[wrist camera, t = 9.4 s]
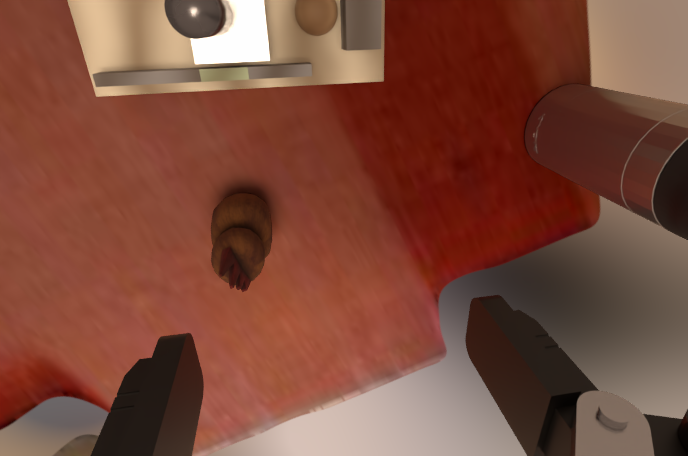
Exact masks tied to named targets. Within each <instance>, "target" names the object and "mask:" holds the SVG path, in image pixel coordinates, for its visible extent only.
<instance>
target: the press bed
mask: <svg viewBox="0 0 688 456" xmlns="http://www.w3.org/2000/svg"><path fill="white" fill-rule="evenodd" d="M296 1H297V0H264V3H265V12H266V22H267V31H268V41H269V50H270V61H255V62H233V63H211V64H195V60H194V54H193V49H192V43H191V38H187V37H185V36H183V35H181V34H180V33H178V32H177V31H176V30H175V29H174V28H173V27H172V26H171V24H170V23H169V21H168V19H167V16H166V13H165V7H164V3H165V0H68V4H69V7H70V10H71V14H72V17H73V20H74V24H75V27H76V30H77V34H78V37H79V40H80V44H81V47H82V50H83V54H84V57H85V60H86V64H87V67H88V70H89V74H90V77H91V80H92V84H93V87H94V90H95V94H96V97H98V96H117V95H135V94H154V93H173V92H192V91H210V90H229V89H248V88H267V87H285V86H304V85H323V84H342V83H360V82H379V81H384V13H385V0H335V1H336V4H337V8H338V16H337V21H336V23H335V25H334V27H333V28H332V29H331V30H330V31H329V32H328V33H326V34H324V35H320V36H314V35H310V34H308V33H306V32H305V31H303V30H302V29H301V27H300V26H299V25H298V23H297V20H296V17H295V4H296Z"/></svg>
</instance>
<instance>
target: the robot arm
mask: <svg viewBox="0 0 688 456" xmlns="http://www.w3.org/2000/svg"><path fill="white" fill-rule="evenodd" d="M525 145H526V148H527V151H528V153H529V155H530V156H531V157H532V159H533V160H535V161H536V162H537V163H539V164H541V165H543V166H545V167H546V168H548V169H550V170H552V171H554V172H556V173H558V174H560V175H562V176H564V177H565V178H567V179H569V180H571V181H573V182H575V183H577V184H579V185H581V186H583V187H585V188H587V189H589V190H591V191H593V192H594V193H596V194H598V195H600V196H602V197H604V198H606V199H608V200H610V201H612V202H614V203H616V204H618V205H620V206H622V207H624V208H625V209H627V210H629V211H631V212H633V213H635V214H637V215H639V216H641V217H643V218H645V219H647V220H649V221H651V222H653V223H655V224H657V225H659V226H661V227H663V228H664V229H666V230H668V231H670V232H672V233H674V234H676V235H678V236H680V237H682V238H684V239H686V240H688V105H687V104H681V103H676V102H670V101H665V100H660V99H655V98H650V97H645V96H639V95H634V94H629V93H624V92H618V91H613V90H608V89H603V88H598V87H592V86H587V85H581V84H568V85H564V86H561V87H559V88H557V89H555V90H553V91H551V92H550V93H549V94H547V95H546V96H545V97H544V98H543V99H542V100H541V101H540V102H539V103H538V104H537V105H536V107H535V108H534V110H533V111H532V113H531V115H530V117H529V119H528V122H527V125H526V129H525ZM466 348H467V351H468V354H469V357H470V359H471V361H472V363H473V364H474V366H475V368H476V370H477V371H478V373H479V375H480V376H481V378H482V380H483V381H484V383H485V385H486V386H487V388H488V390H489V391H490V393H491V395H492V396H493V398H494V400H495V401H496V403H497V405H498V407H499V408H500V410H501V412H502V414H503V415H504V417H505V419H506V420H507V422H508V424H509V425H510V427H511V429H512V430H513V432H514V434H515V436H516V437H517V439H518V441H519V442H520V444H521V445H522V447H523V449H524V450H525V452H526V454H527V456H688V410H687V412H686V414H685V416H684V417H683V419H677V418H669V417H662V416H654V415H647V414H642V413H641V412H640V411H639V410H638V409H637V408H636V407H635V406H634V405H632V404H631V403H630V402H628V401H627V400H625V399H623V398H621V397H619V396H617V395H614V394H612V393H608V392H604V391H599V390H598V389H597V388H596V387H595V386H594V385H593V383H591V381H590V380H589V379H588V378H587V377H586V376H585V375H584V373H582V371H581V370H580V369H579V368H578V367H577V366H576V365H575V364H574V362H573V361H572V360H571V359H570V358H569V357H568V356H567V354H566V353H565V352H564V351H563V350H562V349H561V348H559V347H558V344H557V343H556V342H555V341H554V340H553V339H552V338H551V337H549V336H548V333H547V332H546V331H545V330H544V329H543V327H542V326H541V325H540V324H539V323H538V322H537V321H536V320H535V319H533V318H531V317H529V316H528V315H527V314H525V313H523V312H522V311H520V310H516V311H513V310H512V308H511V307H510V306H509V305H508V304H507V302H506V301H505V300H504V299H503V298H502V297H501V296H499V295H494V296H486V297H479V298H473V299H472V301H471V304H470V311H469V318H468V325H467V333H466ZM203 387H204V386H203V375H202V370H201V367H200V363H199V359H198V355H197V352H196V348H195V344H194V340H193V337H192V335H191V334H190V333H186V334H178V335H170V336H162V337H160V338H159V340H158V342H157V345H156V348H155V350H154V353H153V356H152V358H146V359H139V361H138V362H137V363H136V364H135V365H134V366H133V367H132V368H131V369H130V371H129V372H128V373H127V374H126V375H125V376H124V379H123V381H122V383H121V386H120V388H119V390H118V393H117V397H115V400H114V402H113V404H112V407H111V412H110V413H109V414H108V416H107V419H106V421H105V423H104V426H103V428H102V430H101V433H100V435H99V437H98V440H97V442H96V444H95V447H94V449H93V451H92V454H91V456H192V451H193V446H194V441H195V435H196V430H197V425H198V420H199V415H200V409H201V404H202V399H203Z"/></svg>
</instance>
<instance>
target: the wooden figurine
mask: <svg viewBox="0 0 688 456" xmlns="http://www.w3.org/2000/svg"><path fill="white" fill-rule="evenodd" d="M211 238H212V244H213V249H212V256H211V262H212V266H213V268H214V271H215V272H216V274H217V275H218V276H219V277H220V278H221V279H222V280H224V281H225V282H227V283H229V285H230V288H231V289H232V288H234V286H235V285H236V288H237V290H239V289H241V290H242V292H244V291H246V290H247V289H248V287H249V285H250V282H251V281H253V280H254V279H255V278H256V277H257V276H258V275H259V274H260V272H261V271H262V268H263V266H264V261H265V258H266V257H267V255H268V254H269V252H270V249H271V243H272V223H271V217H270V213H269V210H268V207H267V205H266V203H265V202H264V201H263V200H262V199H260V198H259V197H257V196H256V195H253V194H248V193H236V194H234V195H231V196H229V197H226V198H224V200H223V201H222V202H221V203H220V204H219V205H218V206H217V207H216V208H215V209H214V212H213V216H212V223H211Z"/></svg>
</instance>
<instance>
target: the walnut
mask: <svg viewBox="0 0 688 456" xmlns="http://www.w3.org/2000/svg"><path fill="white" fill-rule="evenodd" d="M337 16H338V8H337V4H336V1H335V0H297V1H296V4H295V17H296V20H297V23H298V25H299V26H300V27H301V29H302V30H303V31H305V32H306V33H308V34H310V35H314V36H320V35H324V34H326V33H328V32H329V31H330V30H331V29H332V28H333V27H334V25H335V23H336V21H337Z"/></svg>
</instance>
